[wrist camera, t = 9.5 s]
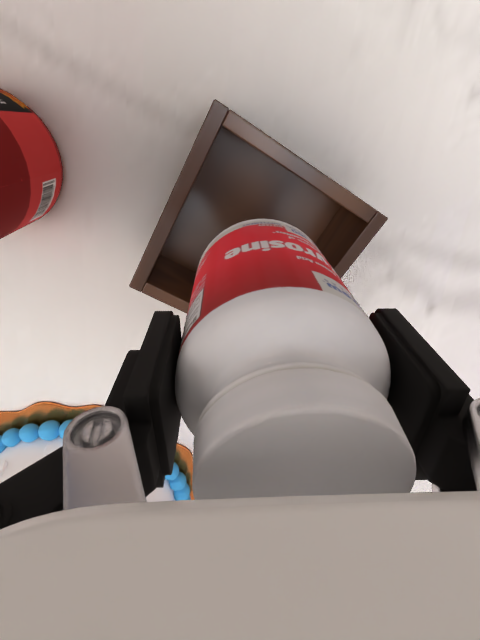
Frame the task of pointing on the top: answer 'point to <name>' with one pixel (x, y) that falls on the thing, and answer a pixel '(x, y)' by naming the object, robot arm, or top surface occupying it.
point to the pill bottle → (284, 375)
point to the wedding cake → (47, 436)
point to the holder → (246, 205)
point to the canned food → (25, 166)
